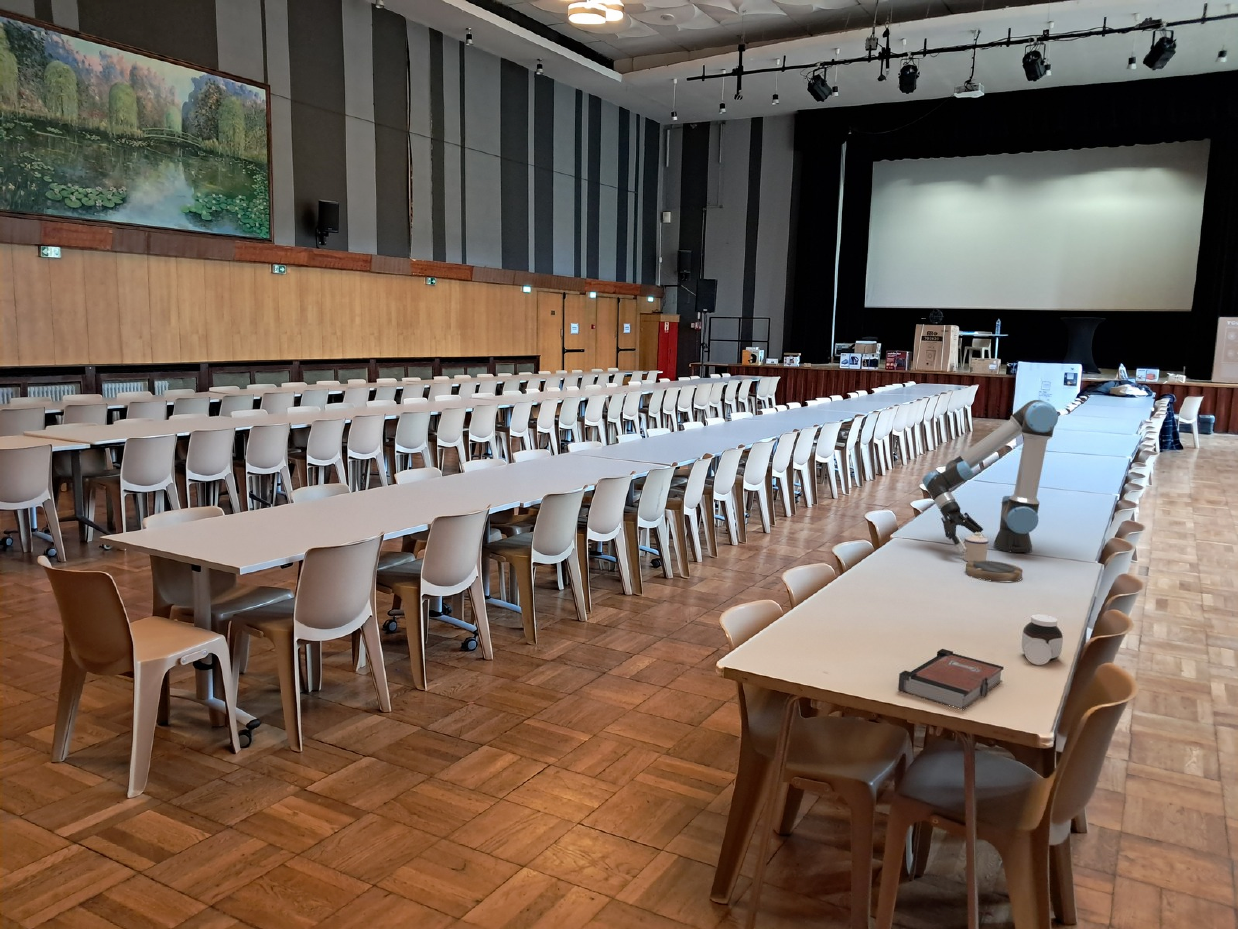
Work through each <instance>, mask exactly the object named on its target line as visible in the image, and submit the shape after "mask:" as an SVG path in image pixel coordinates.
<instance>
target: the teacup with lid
mask: <svg viewBox="0 0 1238 929" xmlns="http://www.w3.org/2000/svg"><path fill="white" fill-rule="evenodd" d="M961 541H962V543H963V544H964V546H965V547H966V549H965V550H964V551H963V552H960V551H959V549H958V547H957V546H956V549H957V552H959V553H960V554H963V560H964V561H965V562H967V561H968V562H971V561H987V557H988V556H987V555H988V547H989V546H988V545H989V539H988V538H986V537H982V536H981V535H980V533H978V532H975V533H973V534H971V535H969V536H968V535H967V536H965V537H964V540H961ZM968 562H967V563H968Z"/></svg>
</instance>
